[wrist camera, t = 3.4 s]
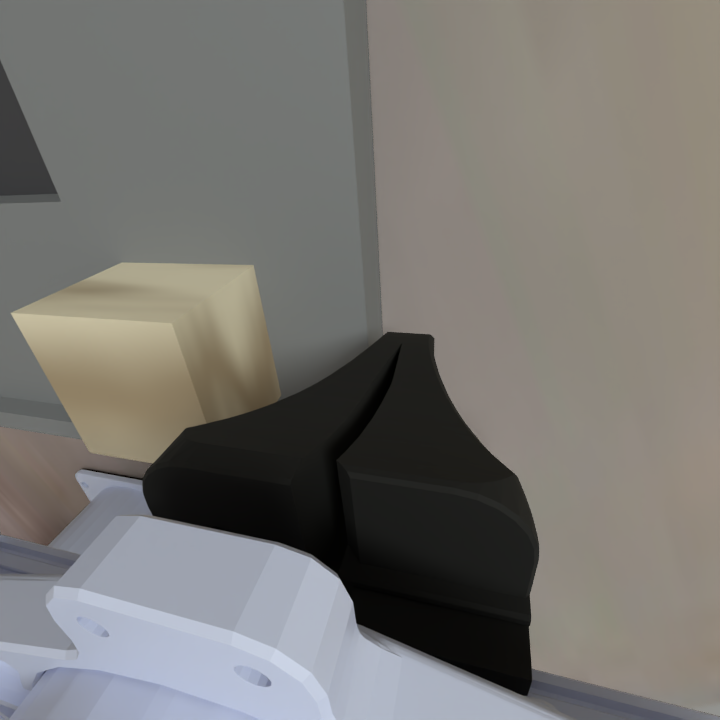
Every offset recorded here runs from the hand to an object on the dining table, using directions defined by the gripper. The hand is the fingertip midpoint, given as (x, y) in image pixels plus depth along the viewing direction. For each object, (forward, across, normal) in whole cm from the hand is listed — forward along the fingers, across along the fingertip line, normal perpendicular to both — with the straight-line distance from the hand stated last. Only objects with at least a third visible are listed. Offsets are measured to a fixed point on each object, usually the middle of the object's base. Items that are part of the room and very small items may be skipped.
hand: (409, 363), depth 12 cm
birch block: (+1, +8, 0) cm, 8 cm away
